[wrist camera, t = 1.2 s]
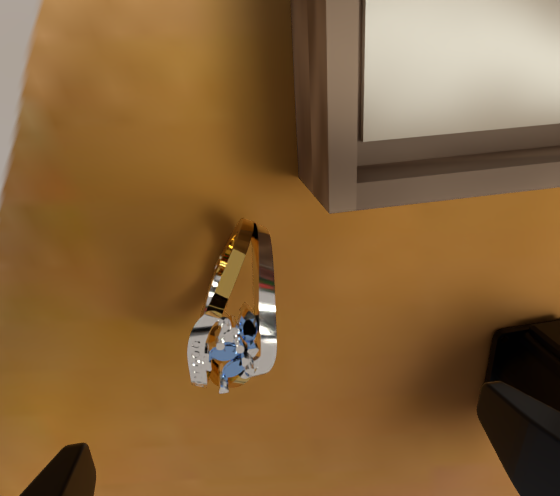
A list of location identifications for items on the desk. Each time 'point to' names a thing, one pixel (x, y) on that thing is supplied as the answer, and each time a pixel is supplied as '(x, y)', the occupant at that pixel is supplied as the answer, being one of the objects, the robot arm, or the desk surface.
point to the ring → (238, 336)
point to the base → (425, 99)
